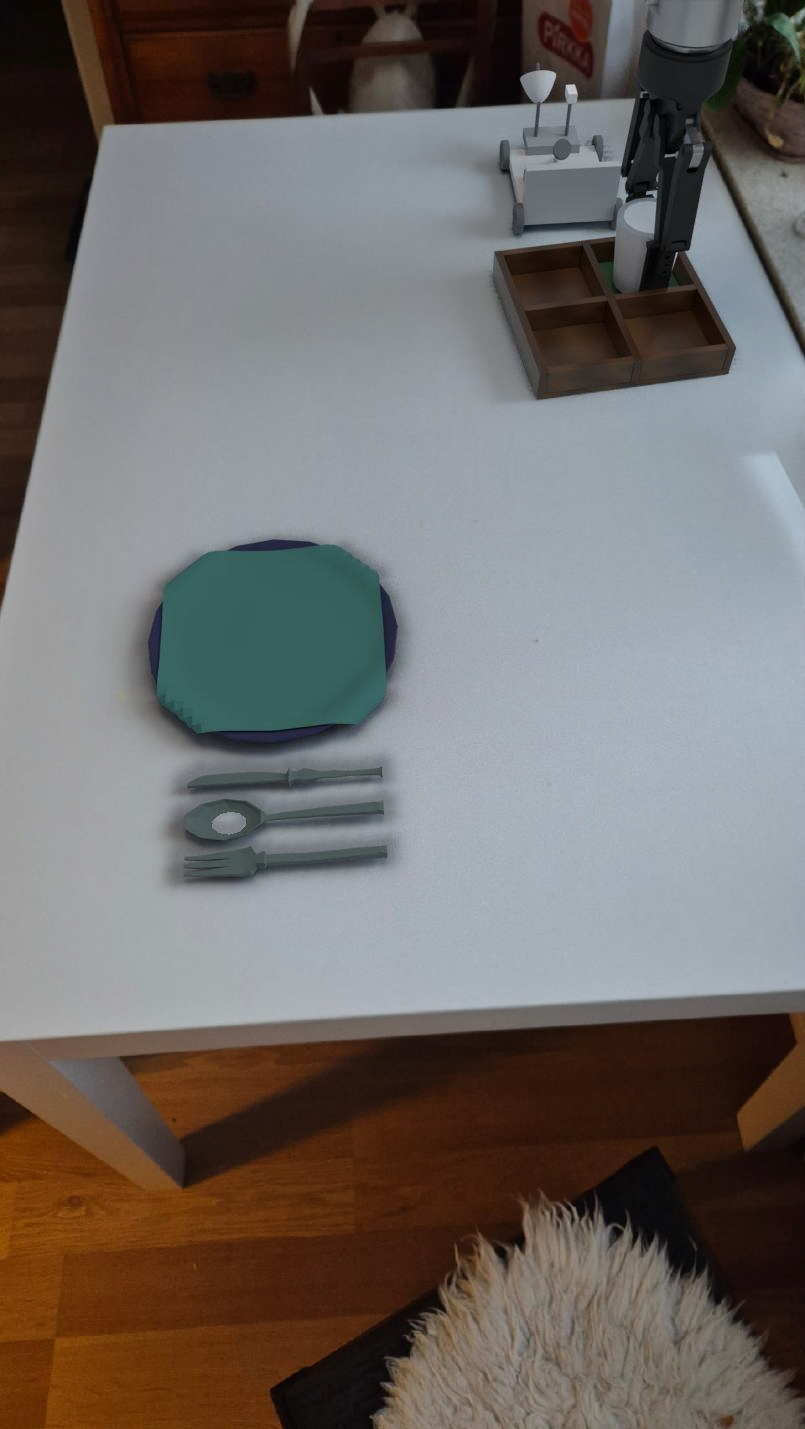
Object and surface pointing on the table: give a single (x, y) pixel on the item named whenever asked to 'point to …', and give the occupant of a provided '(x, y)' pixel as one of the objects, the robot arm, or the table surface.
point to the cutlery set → (272, 671)
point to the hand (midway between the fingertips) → (639, 278)
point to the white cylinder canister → (633, 242)
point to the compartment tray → (605, 321)
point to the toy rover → (559, 168)
